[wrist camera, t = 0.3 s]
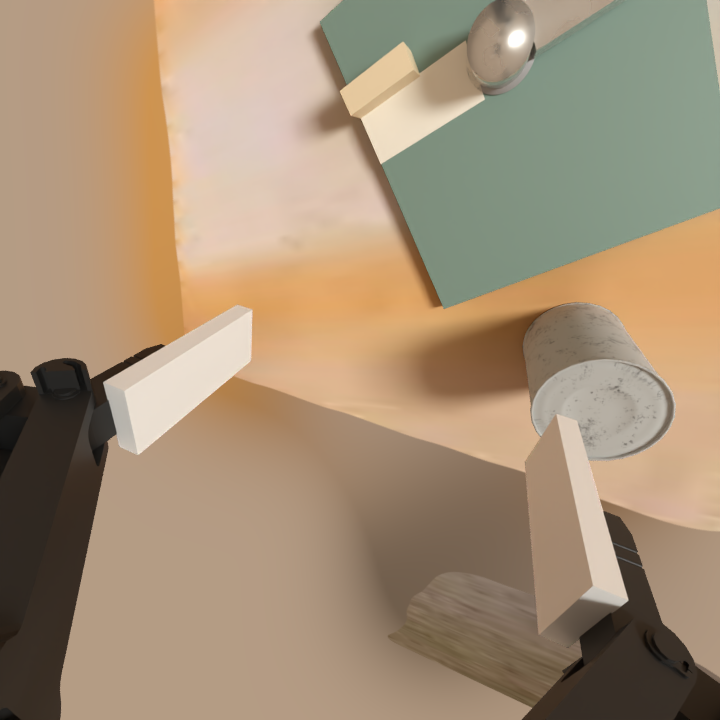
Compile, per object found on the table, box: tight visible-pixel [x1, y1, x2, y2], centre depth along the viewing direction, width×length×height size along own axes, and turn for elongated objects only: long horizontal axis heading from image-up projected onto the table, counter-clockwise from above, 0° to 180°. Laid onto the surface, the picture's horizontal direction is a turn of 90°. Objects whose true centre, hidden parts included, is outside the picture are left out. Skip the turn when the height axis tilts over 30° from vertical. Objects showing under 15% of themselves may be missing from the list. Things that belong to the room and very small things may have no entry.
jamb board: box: [320, 0, 720, 309], centre depth 29 cm, size 28×24×4 cm
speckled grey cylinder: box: [523, 303, 676, 461], centre depth 33 cm, size 10×10×12 cm
